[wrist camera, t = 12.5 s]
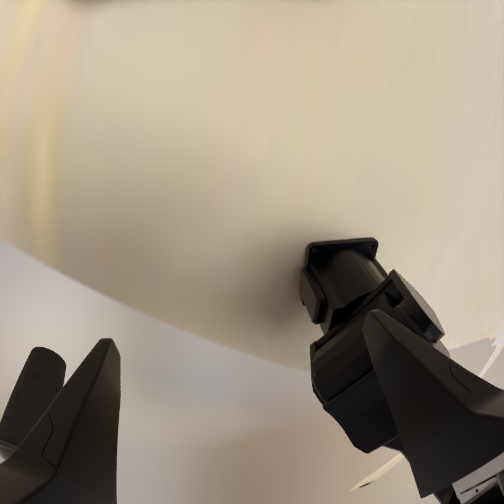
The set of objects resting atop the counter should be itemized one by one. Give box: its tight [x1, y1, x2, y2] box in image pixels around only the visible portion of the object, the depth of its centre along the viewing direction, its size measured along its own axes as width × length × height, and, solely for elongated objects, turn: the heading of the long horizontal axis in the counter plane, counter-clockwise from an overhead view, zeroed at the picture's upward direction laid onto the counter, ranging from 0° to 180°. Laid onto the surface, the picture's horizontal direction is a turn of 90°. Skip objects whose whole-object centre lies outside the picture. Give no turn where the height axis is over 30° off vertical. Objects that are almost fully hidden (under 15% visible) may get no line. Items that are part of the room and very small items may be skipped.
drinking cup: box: [0, 347, 66, 460], centre depth 19 cm, size 8×8×20 cm
